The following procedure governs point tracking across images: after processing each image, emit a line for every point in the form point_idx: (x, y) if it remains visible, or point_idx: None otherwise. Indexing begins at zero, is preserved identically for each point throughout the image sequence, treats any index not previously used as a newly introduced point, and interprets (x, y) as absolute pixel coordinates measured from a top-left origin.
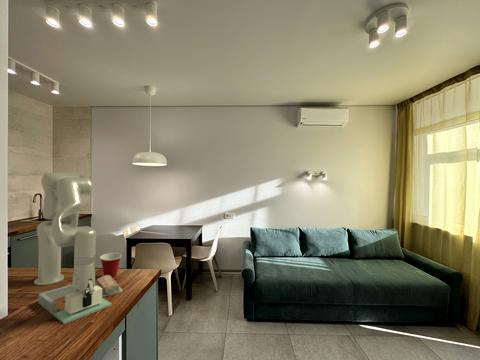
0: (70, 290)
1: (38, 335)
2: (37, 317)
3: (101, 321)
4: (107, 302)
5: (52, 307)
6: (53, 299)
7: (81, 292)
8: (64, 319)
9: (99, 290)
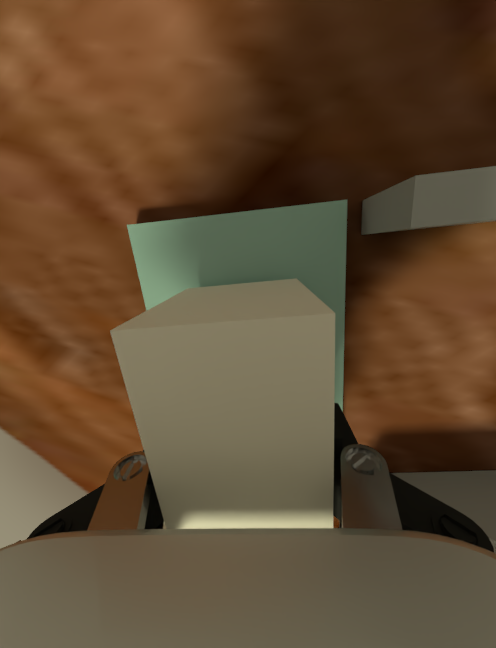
0: None
1: (64, 19)
2: (422, 79)
3: (33, 395)
4: None
5: (398, 184)
6: None
7: (243, 489)
8: (162, 238)
9: None
